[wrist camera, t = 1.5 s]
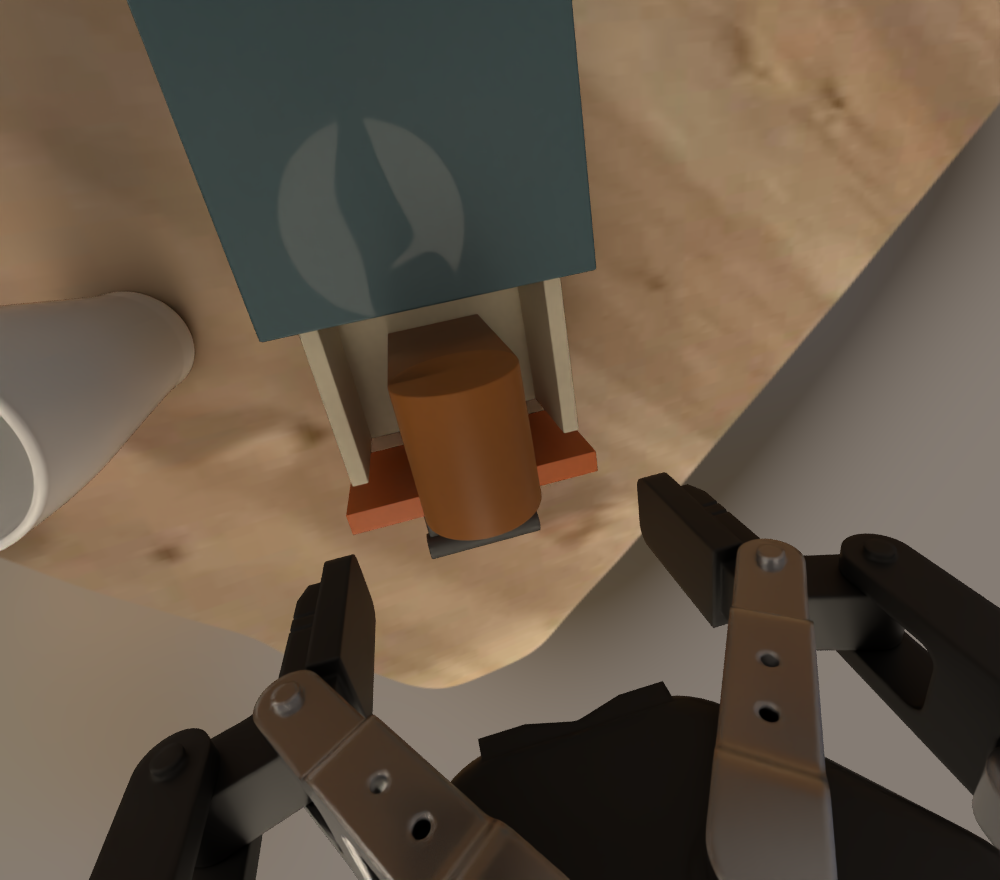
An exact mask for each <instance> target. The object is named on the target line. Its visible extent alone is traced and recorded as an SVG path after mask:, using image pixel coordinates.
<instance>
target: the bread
mask: <svg viewBox="0 0 1000 880" xmlns="http://www.w3.org/2000/svg"><path fill="white" fill-rule="evenodd" d="M387 387H388V392H389V395H390V399H391V402H392V405H393V409H394V412H395V416H396V419H397V423H398V426H399V430H400V433H401V437H402V440H403V443H404V447H405V450H406V454H407V457H408V461H409V464H410V468H411V471H412V475H413V478H414V481H415V485H416V488H417V492H418V495H419V499H420V502H421V506H422V509H423V513H424V516H425V519H426V523H427V524H428V526H429V527H430V528H431V530H433V531H434V532H435V533H437V534H439V535H440V536H443V537H446V538H449V539H454V540H481V539H487V538H491V537H495V536H498V535H502V534H504V533H507V532H509V531H511V530H513V529H515V528H517V527H519V526H520V525H522V524H524V523H525V522H526V521H527V520H529V519H530V518H531V517H532V516H533V515H534V513H535V512H536V511H537V509H538V507H539V505H540V502H541V497H542V496H541V489H540V483H539V477H538V471H537V465H536V459H535V453H534V447H533V441H532V435H531V429H530V423H529V417H528V411H527V405H526V399H525V393H524V387H523V381H522V375H521V369H520V363H519V359H518V358H517V356H516V355H515V354H514V353H513V352H512V350H511V349H510V348H509V347H508V346H507V345H506V344H505V343H504V342H503V341H502V340H501V339H500V338H499V337H498V335H497V334H496V333H495V332H494V331H493V330H492V329H491V328H490V327H489V326H488V325H487V324H486V323H485V322H484V320H483V319H482V318H481V317H480V316H479V315H478V314H474V315H470V316H465V317H461V318H456V319H452V320H447V321H443V322H438V323H434V324H429V325H425V326H420V327H416V328H411V329H407V330H402V331H398V332H393V333H389V334H388V376H387Z"/></svg>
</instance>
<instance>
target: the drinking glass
mask: <svg viewBox="0 0 1000 880" xmlns="http://www.w3.org/2000/svg"><path fill="white" fill-rule="evenodd" d="M194 356H195V347H194V342H193V338H192V335H191V333H190V331H189V329H188V327H187V325H186V324H185V322H184V321H183V320H182V318H181V317H180V316H179V315H178V314H177V313H176V312H175V311H174V310H173V309H171V308H170V307H169V306H167V305H166V304H164V303H163V302H161V301H159V300H157V299H155V298H153V297H150V296H148V295H145V294H141V293H136V292H128V291H119V292H110V293H106V294H102V295H98V296H93V297H84V298H74V299H64V300H54V301H43V302H33V303H21V304H10V305H0V551H2V550H4V549H6V548H8V547H9V546H11V545H12V544H14V543H16V542H17V541H18V540H20V539H21V538H22V537H23V536H25V535H26V534H27V533H28V532H30V531H31V530H32V529H34V528H35V527H36V526H38V525H39V524H40V523H42V522H43V521H44V520H45V519H47V518H48V517H49V516H51V515H52V514H53V513H54V512H56V511H57V510H58V509H59V508H61V507H62V506H63V505H64V504H66V503H67V502H68V501H69V500H70V499H71V498H73V497H74V496H75V495H76V494H77V493H78V492H79V491H81V490H82V489H83V488H84V487H85V486H86V485H87V484H88V483H89V482H90V481H91V480H92V479H93V478H94V477H95V476H96V475H97V474H98V473H99V472H100V471H101V470H102V469H103V468H104V467H105V466H106V465H107V464H108V463H109V462H110V460H111V459H112V458H113V457H114V456H115V455H116V454H117V453H118V451H119V450H120V449H121V448H122V447H123V445H124V444H125V443H126V442H127V441H128V440H129V438H130V437H131V436H132V435H133V434H134V433H135V431H136V430H137V429H138V428H139V427H140V426H141V424H142V423H143V422H144V421H145V420H146V419H147V417H148V416H149V415H150V414H151V413H152V412H153V410H154V409H155V408H156V407H157V406H158V405H159V404H160V402H161V401H162V400H163V399H164V398H165V397H166V396H167V395H168V393H169V392H170V391H171V390H172V389H174V388H175V387H176V386H177V385H179V384H180V383H181V382H182V381H183V380H184V379H185V378H186V376H187V375H188V374H189V372H190V370H191V368H192V365H193V362H194Z"/></svg>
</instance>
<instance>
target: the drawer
mask: <svg viewBox="0 0 1000 880" xmlns="http://www.w3.org/2000/svg"><path fill="white" fill-rule="evenodd" d="M474 314H478V315H479V316H480V317H481V318H482V319H483V320H484V322H485V323H486V324H487V325H488V326H489V327H490V328H491V329H492V330H493V331H494V332H495V333H496V334H497V335H498V337H499V338H500V339H501V340H502V341H503V342H504V343H505V344H506V345H507V346H508V347H509V348H510V349H511V350H512V352H513V353H514V354H515V355H516V356H517V358H518V359H519V363H520V369H521V375H522V381H523V387H524V393H525V399H526V401H528V400H532V399H536V400H537V401H538V402H539V403H540V404H541V406H542V407H543V408H544V409H545V410H543V411H539V412H535V413H531V414H528V417H529V423H530V429H531V435H532V441H533V447H534V453H535V459H536V465H537V471H538V477H539V483H540V486H542V485H546V484H549V483H553V482H557V481H561V480H565V479H568V478H572V477H576V476H580V475H584V474H587V473H591V472H595V471H598V468H597V459H596V451H595V450H594V449H593V448H592V447H591V445H590V444H589V443H588V442H587V441H586V440H585V439H584V438H583V437H582V435H581V434H580V433H579V432H578V431H577V430H578V421H577V413H576V405H575V396H574V388H573V380H572V372H571V363H570V355H569V347H568V339H567V331H566V322H565V314H564V306H563V298H562V289H561V281H560V278H555V279H551V280H546V281H542V282H537V283H532V284H528V285H523V286H519V287H514V288H509V289H505V290H500V291H496V292H491V293H486V294H482V295H477V296H473V297H468V298H463V299H459V300H454V301H450V302H445V303H441V304H436V305H431V306H427V307H422V308H418V309H413V310H408V311H404V312H399V313H395V314H390V315H385V316H381V317H376V318H372V319H367V320H362V321H358V322H353V323H349V324H344V325H339V326H335V327H330V328H326V329H321V330H316V331H312V332H307V333H303V334H299V336H300V339H301V342H302V345H303V348H304V351H305V353H306V356H307V359H308V362H309V365H310V368H311V370H312V373H313V376H314V379H315V382H316V385H317V387H318V390H319V393H320V396H321V399H322V402H323V404H324V407H325V410H326V413H327V416H328V419H329V421H330V424H331V427H332V430H333V433H334V436H335V438H336V441H337V444H338V447H339V450H340V453H341V455H342V458H343V461H344V464H345V467H346V470H347V472H348V475H349V478H350V481H351V486H350V493H349V500H348V507H347V514H346V517H347V519H348V522H349V525H350V527H351V530H352V533H353V535H355V534H359V533H363V532H367V531H370V530H374V529H378V528H382V527H386V526H389V525H393V524H397V523H401V522H405V521H408V520H412V519H416V518H420V517H424V518H425V516H424V513H423V509H422V506H421V502H420V499H419V495H418V492H417V488H416V485H415V481H414V478H413V475H412V471H411V468H410V464H409V461H408V457H407V454H406V450H405V447H404V445H401V446H397V447H393V448H389V449H385V450H381V451H376V452H372V453H371V443H372V438H376V437H380V436H384V435H388V434H392V433H396V432H400V430H399V426H398V423H397V419H396V416H395V412H394V409H393V405H392V402H391V399H390V395H389V392H388V387H387V376H388V334H389V333H393V332H398V331H402V330H407V329H411V328H416V327H420V326H425V325H429V324H434V323H438V322H443V321H447V320H452V319H456V318H461V317H465V316H470V315H474ZM425 521H426V519H425ZM426 525H427V528H428V532H429V533H428V534H427V542H428V546H429V550H430V554H431V557H432V559H436V558H439V557H443V556H447V555H450V554H454V553H458V552H461V551H465V550H469V549H472V548H476V547H480V546H483V545H487V544H491V543H494V542H498V541H502V540H505V539H509V538H513V537H516V536H520V535H524V534H527V533H531V532H535V531H538V530H540V521H539V517H538V514H537V511H536V512H535V513H534V515H533V516H532V517H531V518H530V519H529V520H527V521H526V522H525V523H524V524H522V525H520V526H519V527H517V528H515V529H513V530H511V531H509V532H507V533H504V534H502V535H498V536H495V537H491V538H487V539H481V540H454V539H449V538H446V537H443V536H440V535H439V534H437V533H435V532H434V531H433V530H431V528H430V527H429V526H428V524H427V523H426Z"/></svg>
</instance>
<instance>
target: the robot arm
mask: <svg viewBox="0 0 1000 880" xmlns="http://www.w3.org/2000/svg"><path fill="white" fill-rule="evenodd" d="M637 491H638V505H639V519H640V528H641V532H642V535H643V538H644V540H645V542H646V544H647V545H648V546H649V548H650V549H651V550H652V552H653V553H654V554H655V555H656V557H657V558H658V559H659V560H660V562H661V563H662V564H663V565H664V567H665V568H666V569H667V571H668V572H669V573H670V574H671V576H672V577H673V578H674V579H675V581H676V582H677V583H678V584H679V586H680V587H681V588H682V589H683V591H684V592H685V593H686V594H687V596H688V597H689V598H690V599H691V600H692V602H693V603H694V604H695V606H696V607H697V608H698V609H699V611H700V612H701V613H702V614H703V616H704V617H705V618H706V620H707V621H708V622H709V623H710V624H711V626H712V627H713V628H715V627H718V626H722V625H725V624H728V630H727V641H726V650H725V660H724V670H723V680H722V690H721V700H720V704H718V703H716V702H713V701H709V700H705V699H702V698H695V697H690V696H671V694H670V693H669V691H668V689H667V687H666V686H665V684H664V682H663V681H662V682H659V683H655V684H653V685H649V686H646V687H643V688H639V689H636V690H633V691H630V692H627V693H624V694H620V695H618V696H617V697H615V698H613V699H612V700H610V701H608V702H607V703H605V704H604V705H602V706H600V707H599V708H598V709H596V710H594V711H592V712H591V713H590V714H588V715H586V716H584V717H583V718H581V719H579V720H577V721H572V722H557V723H540V724H525V725H521V726H518V727H515V728H512V729H509V730H505V731H502V732H500V733H496V734H493V735H490V736H486V737H483V738H480V739H478V741H479V746H480V752H481V756H480V757H478V758H477V759H475V760H474V761H472V762H471V763H470V764H468V765H467V766H466V767H465V768H463V769H462V770H461V771H460V772H459V773H458V774H457V775H456V776H455V777H454V778H453V780H452V781H451V782H450V781H449V780H447V779H446V778H445V777H444V776H443V775H442V774H441V773H440V772H438V771H437V770H436V769H435V768H434V767H433V766H432V765H430V763H428V762H427V761H426V760H425V759H424V758H423V757H422V756H421V755H419V754H418V753H417V752H416V751H415V750H414V749H413V748H411V746H409V745H408V744H407V743H406V742H405V741H404V740H403V739H402V738H400V737H399V736H398V735H397V734H396V733H395V732H394V731H393V730H391V729H390V728H389V727H388V726H387V725H386V724H385V723H384V722H383V721H381V720H380V719H379V718H378V717H376V716H375V715H373V714H372V711H373V682H374V681H373V680H374V653H375V624H376V619H375V610H374V605H373V601H372V598H371V595H370V593H369V590H368V587H367V585H366V582H365V579H364V577H363V574H362V571H361V568H360V566H359V563H358V561H357V558H356V557H355V555H354V554H352V555H348V556H345V557H341V558H337V559H333V560H330V561H326V562H325V563H324V567H323V573H322V578H321V583H317V584H313V585H310V586H308V587H307V589H306V590H305V591H304V593H303V594H302V596H301V597H300V598H299V600H298V601H297V604H296V608H295V612H294V617H293V618H294V620H293V621H292V625H291V629H290V631H291V633H289V637H288V641H287V645H286V649H285V654H284V658H283V662H282V666H281V670H280V674H279V678H278V679H277V680H276V681H274V682H273V683H272V684H271V685H269V686H268V687H267V688H266V689H265V691H263V693H262V694H261V695H260V697H259V698H258V700H257V702H256V704H255V706H254V710H253V714H252V715H251V716H250V717H248V718H247V719H245V720H243V721H242V722H240V723H238V724H237V725H235V726H233V727H231V728H229V729H228V730H226V731H224V732H222V733H221V734H219V735H217V736H215V737H213V738H212V739H210V737H209V736H208V734H207V733H206V732H205V731H204V730H201V729H197V728H196V729H195V728H191V729H186V730H182V731H179V732H177V733H175V734H173V735H171V736H169V737H167V738H166V739H164V740H163V741H161V742H160V743H159V744H157V745H156V746H155V747H154V748H152V749H151V750H150V751H149V752H148V753H147V754H146V755H145V756H144V758H143V759H142V760H141V761H140V762H139V764H138V765H137V767H136V768H135V770H134V772H133V774H132V776H131V778H130V781H129V783H128V785H127V788H126V791H125V793H124V795H123V798H122V800H121V803H120V805H119V808H118V810H117V812H116V815H115V817H114V820H113V822H112V825H111V827H110V830H109V832H108V834H107V837H106V839H105V842H104V844H103V847H102V849H101V852H100V854H99V856H98V859H97V862H96V864H95V866H94V869H93V871H92V874H91V876H90V878H89V880H256V873H257V867H258V860H259V854H260V847H261V841H262V834H263V833H265V832H266V831H268V830H269V829H271V828H273V827H274V826H275V825H277V824H279V823H280V822H282V821H283V820H285V819H286V818H288V817H289V816H291V815H292V814H294V813H295V812H297V811H298V810H300V809H301V808H303V807H304V808H305V809H306V811H307V812H308V813H309V815H310V816H311V817H312V819H313V820H314V821H315V823H316V824H317V825H318V826H319V828H320V829H321V830H322V832H323V833H324V834H325V835H326V837H327V838H328V840H329V841H330V842H331V843H332V845H333V846H334V847H335V849H336V850H337V851H338V853H339V854H340V855H341V856H342V858H343V859H344V860H345V862H346V863H347V864H348V866H349V867H350V869H351V870H352V871H353V873H354V874H355V876H356V877H357V878H358V880H1000V608H999V607H997V606H996V605H994V604H993V603H991V602H990V601H989V600H987V599H985V598H984V597H982V596H981V595H980V594H978V593H977V592H975V591H974V590H972V589H971V588H969V587H968V586H966V585H965V584H964V583H962V582H961V581H959V580H958V579H956V578H955V577H953V576H952V575H950V574H949V573H948V572H946V571H945V570H943V569H942V568H940V567H939V566H937V565H936V564H934V563H933V562H931V561H930V560H928V559H927V558H926V557H924V556H923V555H921V554H920V553H918V552H917V551H915V550H914V549H912V548H911V547H909V546H908V545H906V544H905V543H903V542H901V541H898V540H896V539H893V538H891V537H887V536H883V535H878V534H857V535H853V536H850V537H848V538H846V539H845V540H844V541H843V542H842V545H841V550H840V554H838V555H837V554H836V555H814V556H803V555H802V553H801V552H800V551H799V550H797V549H796V548H795V547H793V546H791V545H789V544H787V543H784V542H782V541H778V540H773V539H760V538H759V537H758V536H757V535H755V534H754V533H753V532H752V531H751V530H750V529H748V528H747V527H746V526H745V525H743V523H741V522H740V521H739V520H738V519H737V518H736V517H734V516H733V515H732V514H731V513H730V512H727V511H726V509H725V508H724V507H723V506H721V505H720V504H719V503H718V504H717V501H716V500H714V499H713V498H712V497H711V496H710V495H709V494H707V493H706V492H705V491H703V490H701V489H698V488H696V487H693V486H691V485H688V484H687V485H683V486H680V485H679V484H678V483H677V482H676V481H675V480H674V479H673V478H672V477H670V476H669V475H668V474H667V473H665V472H663V473H659V474H656V475H652V476H648V477H644V478H641V479H639V480H638V482H637ZM904 629H906V630H907V631H908V632H909V633H911V634H912V635H913V636H914V637H915V638H916V639H918V640H919V641H920V642H921V643H922V644H923V645H924V646H925V648H926V649H927V650H928V651H927V650H925V649H924V648H923V647H922V646H921V645H920V644H918V643H917V642H916V641H915V640H914V639H912V637H910V636H909V635H908V634H907V633H906V632H905V631H904ZM816 650H836V651H837V652H838V653H839V654H840V655H841V656H842V657H843V658H844V660H845V661H846V662H847V663H848V664H849V665H850V666H851V667H852V668H853V669H854V670H855V671H856V672H857V673H858V674H859V675H860V676H861V677H862V679H864V681H865V682H866V683H867V684H868V685H869V686H870V687H871V688H872V689H873V690H874V691H875V692H876V693H877V694H878V695H879V697H880V698H881V699H882V700H883V701H884V702H885V703H886V704H887V705H888V706H889V707H890V708H891V709H892V710H893V711H894V712H895V713H896V714H897V715H898V716H899V718H900V719H901V720H902V721H903V722H904V723H905V724H906V725H907V726H908V727H909V728H910V729H911V730H912V731H913V732H914V733H915V735H916V736H917V737H918V738H919V739H920V740H921V741H922V742H923V743H924V744H925V745H926V746H927V747H928V748H929V749H930V750H931V751H932V752H933V754H934V755H935V756H936V757H937V758H938V759H939V760H940V761H941V762H942V763H943V764H944V765H945V766H946V767H947V768H948V769H949V770H950V772H951V773H952V774H953V775H954V776H955V777H956V778H957V779H958V780H959V781H960V782H961V783H962V784H963V785H964V786H965V787H966V788H967V789H968V790H969V792H970V793H971V794H972V795H973V799H972V808H973V813H974V816H975V818H976V821H977V822H978V824H979V826H980V827H981V829H982V831H983V832H984V833H985V835H986V836H987V837H988V839H989V840H990V841H991V842H992V844H993V845H994V846H993V845H991V844H990V843H989V842H987V841H986V840H984V839H982V838H981V837H979V836H977V835H975V834H973V833H972V832H970V831H968V830H966V829H964V828H962V827H960V826H958V825H956V824H954V823H953V822H951V821H949V820H946V819H945V818H943V817H941V816H939V815H937V814H935V813H933V812H931V811H929V810H927V809H925V808H923V807H921V806H920V805H917V804H915V803H914V802H912V801H910V800H908V799H906V798H904V797H902V796H900V795H897V794H896V793H894V792H892V791H890V790H888V789H886V788H884V787H883V786H881V785H879V784H877V783H875V782H873V781H870V780H869V779H867V778H865V777H863V776H861V775H859V774H857V773H855V772H853V771H851V770H849V769H847V768H846V767H843V766H842V765H840V764H838V763H836V762H834V761H832V760H830V759H828V758H826V757H824V745H823V732H822V720H821V708H820V695H819V681H818V669H817V655H816Z"/></svg>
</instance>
